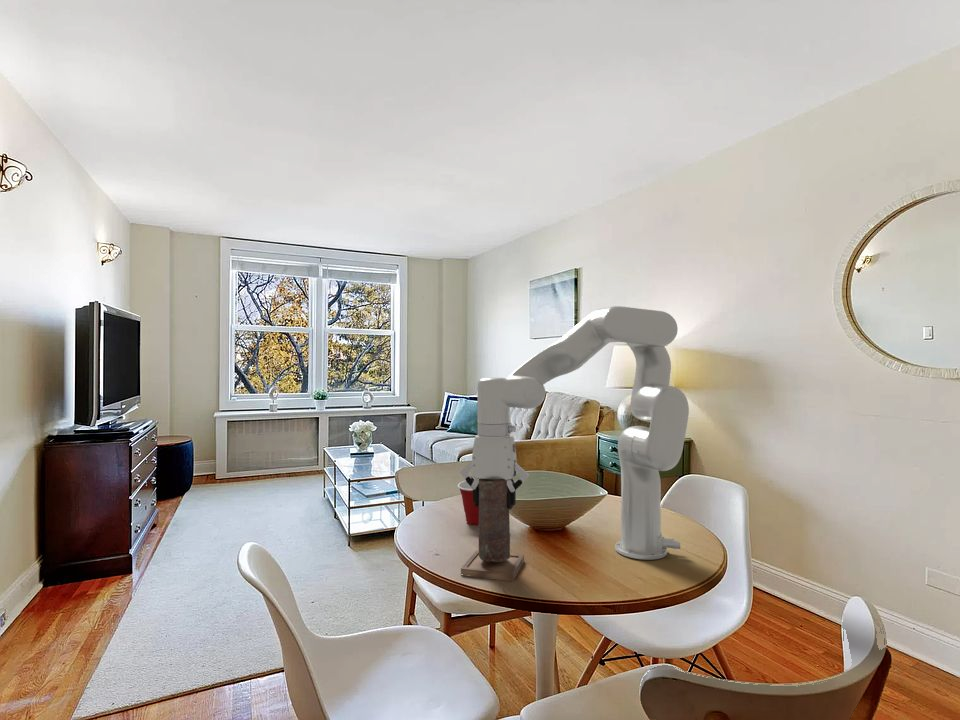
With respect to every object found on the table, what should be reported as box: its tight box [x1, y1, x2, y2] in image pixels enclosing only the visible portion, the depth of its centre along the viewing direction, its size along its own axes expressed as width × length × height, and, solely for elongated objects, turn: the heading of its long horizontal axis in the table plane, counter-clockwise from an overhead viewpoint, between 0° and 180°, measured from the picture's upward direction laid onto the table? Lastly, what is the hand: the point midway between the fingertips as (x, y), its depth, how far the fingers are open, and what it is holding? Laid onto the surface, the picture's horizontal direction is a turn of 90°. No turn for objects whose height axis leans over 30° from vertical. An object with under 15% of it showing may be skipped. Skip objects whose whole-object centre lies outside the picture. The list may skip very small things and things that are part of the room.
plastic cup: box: [457, 478, 479, 527], centre depth 159 cm, size 11×11×12 cm
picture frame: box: [460, 549, 525, 582], centre depth 124 cm, size 12×12×2 cm
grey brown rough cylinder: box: [478, 479, 511, 562], centre depth 124 cm, size 8×7×20 cm
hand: (494, 506), depth 124 cm, fingers closed on grey brown rough cylinder, 7 cm apart
